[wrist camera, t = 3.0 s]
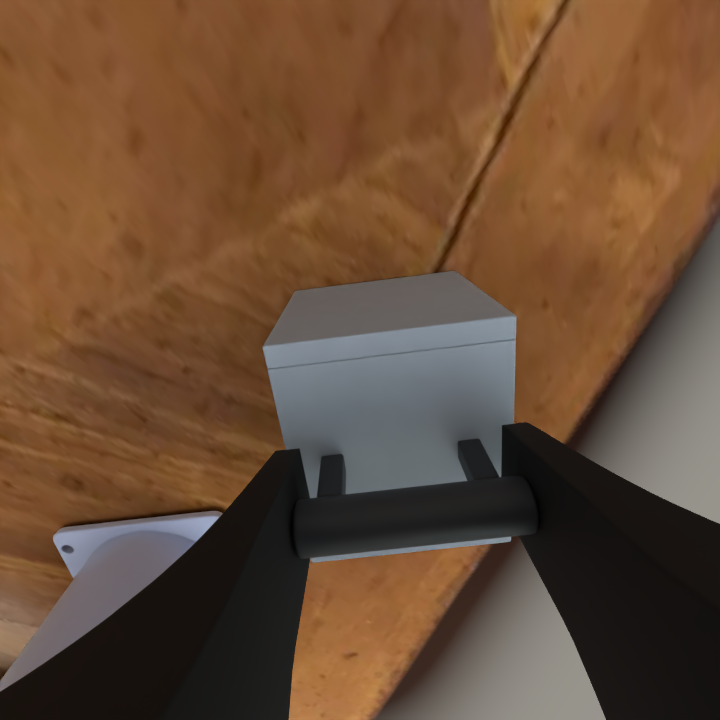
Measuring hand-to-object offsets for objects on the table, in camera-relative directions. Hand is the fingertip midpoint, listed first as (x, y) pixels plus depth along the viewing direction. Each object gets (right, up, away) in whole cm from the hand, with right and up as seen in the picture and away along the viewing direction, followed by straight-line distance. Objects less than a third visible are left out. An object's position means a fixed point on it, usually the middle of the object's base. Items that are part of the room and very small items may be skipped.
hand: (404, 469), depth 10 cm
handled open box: (0, +2, +6) cm, 7 cm away
